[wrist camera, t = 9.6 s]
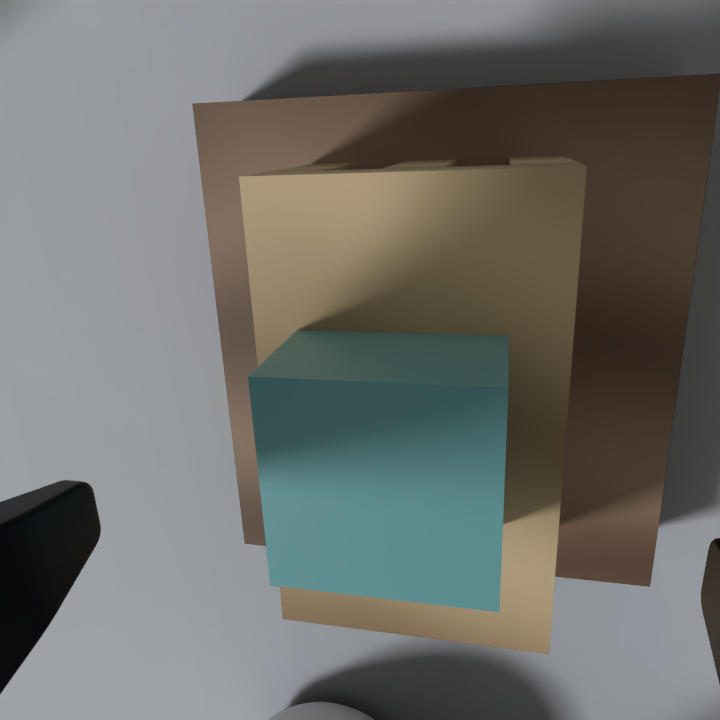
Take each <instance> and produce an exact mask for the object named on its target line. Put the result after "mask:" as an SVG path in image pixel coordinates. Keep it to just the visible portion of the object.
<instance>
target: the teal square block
mask: <svg viewBox="0 0 720 720" xmlns="http://www.w3.org/2000/svg"><path fill="white" fill-rule="evenodd" d="M248 383H249V392H250V402H251V411H252V420H253V429H254V438H255V448H256V457H257V466H258V475H259V484H260V494H261V503H262V512H263V521H264V530H265V540H266V549H267V558H268V567H269V576H270V585H272V586H281V587H289V588H297V589H306V590H314V591H323V592H331V593H340V594H348V595H357V596H365V597H374V598H382V599H391V600H399V601H408V602H416V603H425V604H433V605H441V606H450V607H458V608H467V609H475V610H484V611H492V612H499V611H500V586H501V561H502V536H503V511H504V486H505V461H506V436H507V411H508V336H503V335H463V334H422V333H381V332H341V331H300V330H297V331H296V332H294V333H293V334H292V335H291V336H290V337H289V338H288V339H287V340H286V341H285V342H284V343H283V344H282V345H281V346H280V347H279V348H278V349H276V350H275V351H274V352H273V353H272V354H271V355H270V356H269V357H268V358H267V359H266V360H265V361H264V362H263V363H262V364H261V365H260V366H259V367H257V368H256V369H255V370H254V371H253V372H252V373H251V374H250V375H249V376H248Z"/></svg>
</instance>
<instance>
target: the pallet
mask: <svg viewBox="0 0 720 720" xmlns="http://www.w3.org/2000/svg"><path fill="white" fill-rule="evenodd" d="M586 171H587V166H585V165H583V164H581V163H578V162H576V161H574V160H572V159H570V158H567V157H565V156H547V157H517V158H510V160H509V165H490V166H457V159H456V160H426V161H405V162H402V163H399V164H395V165H392V166H389V167H385V168H382V169H359V170H358V163H334V164H309V165H303V166H297V167H291V168H286V169H280V170H274V171H268V172H262V173H256V174H250V175H245V176H239V183H240V193H241V203H242V213H243V223H244V233H245V243H246V253H247V263H248V273H249V283H250V293H251V303H252V313H253V323H254V333H255V343H256V353H257V363H258V367H259V366H260V365H261V364H262V363H263V362H264V361H265V360H266V359H267V358H268V357H269V356H270V355H271V354H272V353H273V352H274V351H275V350H276V349H278V348H279V347H280V346H281V345H282V344H283V343H284V342H285V341H286V340H287V339H288V338H289V337H290V336H291V335H292V334H293V333H294V332H296V331H297V330H300V331H341V332H381V333H422V334H463V335H503V336H508V411H507V436H506V461H505V486H504V511H503V536H502V561H501V586H500V611H499V612H492V611H484V610H475V609H467V608H458V607H450V606H441V605H433V604H425V603H416V602H408V601H399V600H391V599H382V598H374V597H365V596H357V595H348V594H340V593H331V592H323V591H314V590H306V589H297V588H289V587H281V586H280V592H281V602H282V612H283V619H288V620H295V621H303V622H310V623H318V624H326V625H333V626H341V627H348V628H356V629H364V630H371V631H379V632H386V633H394V634H402V635H409V636H417V637H424V638H432V639H440V640H447V641H455V642H462V643H470V644H478V645H485V646H493V647H500V648H508V649H516V650H523V651H531V652H538V653H546V654H549V647H550V634H551V621H552V609H553V596H554V583H555V570H556V557H557V544H558V531H559V519H560V506H561V493H562V480H563V467H564V454H565V441H566V429H567V416H568V403H569V390H570V377H571V364H572V351H573V339H574V326H575V313H576V300H577V287H578V274H579V261H580V249H581V236H582V223H583V210H584V197H585V184H586Z"/></svg>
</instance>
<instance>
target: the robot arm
mask: <svg viewBox="0 0 720 720" xmlns="http://www.w3.org/2000/svg"><path fill="white" fill-rule="evenodd" d="M100 532H101V526H100V520H99V516H98V511H97V506H96V501H95V497H94V492H93V489H92V487H91V486H90V485H89V484H88V483H86V482H81V481H70V480H63V481H59V482H56V483H54V484H51V485H48V486H45V487H42V488H39V489H36V490H34V491H31V492H28V493H25V494H22V495H19V496H16V497H13V498H11V499H8V500H5V501H2V502H0V694H1V692H2V691H3V690H4V688H5V687H6V685H7V684H8V683H9V681H10V680H11V678H12V677H13V676H14V674H15V673H16V671H17V670H18V669H19V667H20V666H21V664H22V663H23V662H24V660H25V659H26V657H27V656H28V655H29V653H30V652H31V650H32V649H33V648H34V646H35V645H36V643H37V642H38V641H39V639H40V638H41V636H42V635H43V633H44V632H45V630H46V629H47V627H48V626H49V624H50V623H51V621H52V619H53V618H54V616H55V615H56V613H57V611H58V610H59V608H60V606H61V604H62V603H63V601H64V599H65V598H66V596H67V594H68V592H69V591H70V589H71V587H72V586H73V584H74V582H75V580H76V579H77V577H78V575H79V574H80V572H81V570H82V568H83V567H84V565H85V563H86V562H87V560H88V558H89V556H90V555H91V553H92V551H93V550H94V548H95V546H96V544H97V542H98V540H99V537H100ZM701 604H702V611H703V615H704V619H705V624H706V628H707V632H708V636H709V641H710V645H711V649H712V653H713V658H714V662H715V666H716V671H717V675H718V679H719V683H720V538H716V539H714V540H713V541H712V542H711V544H710V546H709V550H708V556H707V562H706V567H705V573H704V578H703V584H702V590H701Z"/></svg>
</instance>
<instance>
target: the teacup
mask: <svg viewBox="0 0 720 720" xmlns="http://www.w3.org/2000/svg"><path fill="white" fill-rule="evenodd" d="M268 720H374V719H373V718H371V717H370V716H368V715H366V714H364V713H363V712H361V711H358V710H356V709H354V708H351V707H348V706H345V705H341V704H336V703H329V702H310V703H303V704H299V705H296V706H292V707H290V708H287V709H285V710H283V711H281V712H279V713H277V714H276V715H274V716H273V717H271V718H270V719H268Z"/></svg>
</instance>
